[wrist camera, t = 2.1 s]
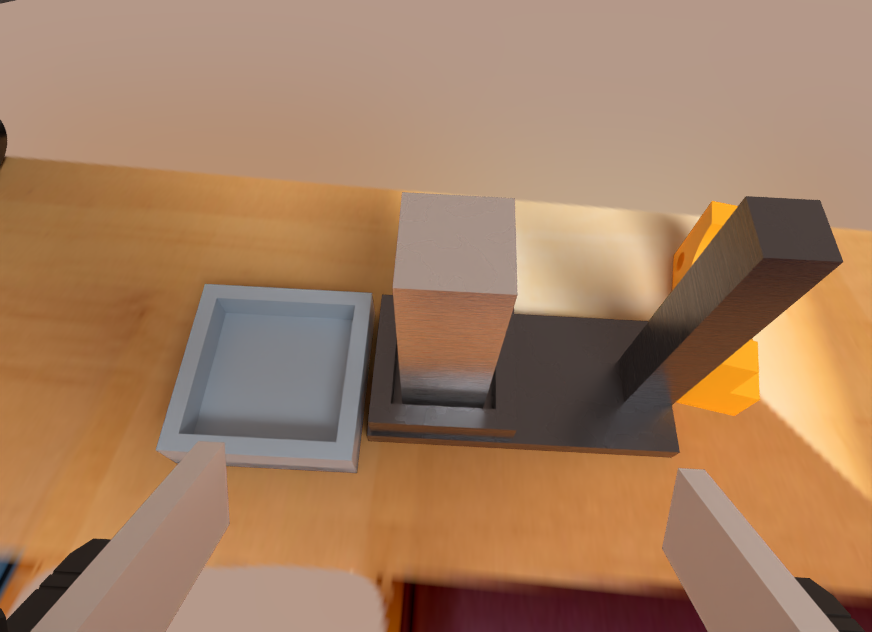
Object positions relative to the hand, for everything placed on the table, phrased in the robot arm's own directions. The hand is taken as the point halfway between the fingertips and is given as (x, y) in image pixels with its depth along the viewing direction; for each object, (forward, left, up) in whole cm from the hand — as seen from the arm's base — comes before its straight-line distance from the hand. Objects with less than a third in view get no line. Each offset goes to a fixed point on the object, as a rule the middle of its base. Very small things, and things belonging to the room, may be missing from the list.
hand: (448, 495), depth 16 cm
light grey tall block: (0, +11, -16) cm, 19 cm away
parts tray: (-10, +10, -17) cm, 23 cm away
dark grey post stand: (+5, +11, -17) cm, 21 cm away
